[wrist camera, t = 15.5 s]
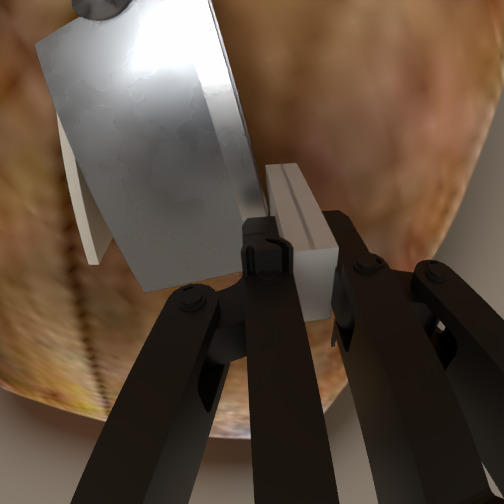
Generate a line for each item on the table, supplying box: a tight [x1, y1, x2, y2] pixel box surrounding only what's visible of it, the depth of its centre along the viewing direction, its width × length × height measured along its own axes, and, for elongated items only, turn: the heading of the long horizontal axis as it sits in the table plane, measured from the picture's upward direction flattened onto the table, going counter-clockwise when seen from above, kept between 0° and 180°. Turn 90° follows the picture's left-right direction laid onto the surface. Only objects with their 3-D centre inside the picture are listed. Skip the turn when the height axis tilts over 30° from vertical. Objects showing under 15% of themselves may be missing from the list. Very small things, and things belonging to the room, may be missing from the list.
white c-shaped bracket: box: [57, 114, 113, 265], centre depth 16 cm, size 8×17×4 cm, turn 178°
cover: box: [35, 0, 268, 293], centre depth 13 cm, size 9×18×4 cm, turn 14°
